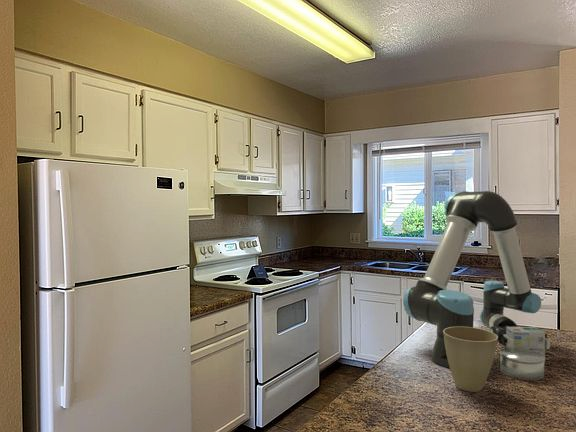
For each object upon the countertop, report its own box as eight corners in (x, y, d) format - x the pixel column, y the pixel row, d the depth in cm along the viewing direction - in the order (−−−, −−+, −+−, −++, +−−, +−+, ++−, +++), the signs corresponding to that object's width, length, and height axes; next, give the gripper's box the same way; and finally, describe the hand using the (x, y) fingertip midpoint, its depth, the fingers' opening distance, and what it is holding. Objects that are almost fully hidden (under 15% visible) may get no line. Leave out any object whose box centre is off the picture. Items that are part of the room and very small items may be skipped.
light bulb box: (536, 356, 157) (537, 326, 157) (545, 363, 151) (546, 331, 150) (504, 355, 158) (505, 325, 158) (512, 362, 152) (513, 331, 151)
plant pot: (464, 400, 123) (464, 343, 122) (432, 379, 137) (433, 328, 136) (509, 394, 126) (510, 338, 126) (474, 374, 141) (474, 324, 140)
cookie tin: (512, 381, 136) (512, 361, 136) (491, 365, 149) (492, 347, 149) (554, 380, 136) (554, 361, 136) (530, 365, 149) (530, 347, 149)
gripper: (534, 336, 172) (566, 356, 150) (471, 335, 173) (494, 354, 151) (534, 317, 171) (566, 333, 149) (472, 316, 173) (494, 332, 151)
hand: (530, 344), depth 150 cm, fingers open, 11 cm apart
